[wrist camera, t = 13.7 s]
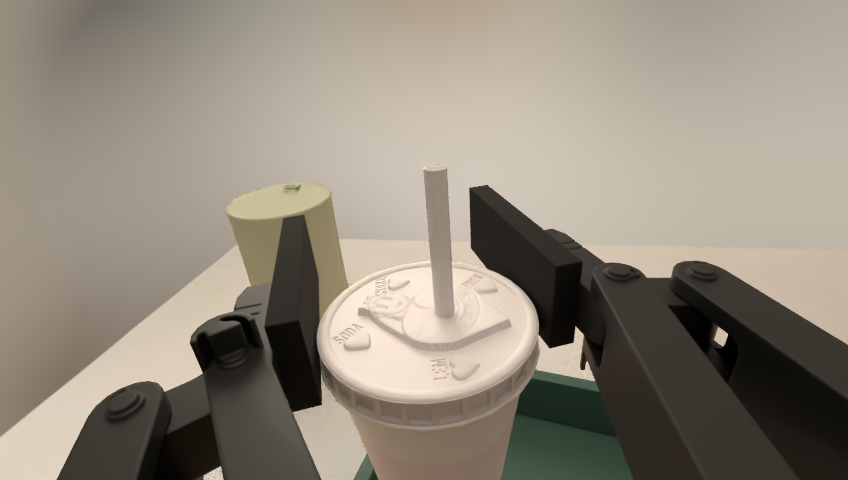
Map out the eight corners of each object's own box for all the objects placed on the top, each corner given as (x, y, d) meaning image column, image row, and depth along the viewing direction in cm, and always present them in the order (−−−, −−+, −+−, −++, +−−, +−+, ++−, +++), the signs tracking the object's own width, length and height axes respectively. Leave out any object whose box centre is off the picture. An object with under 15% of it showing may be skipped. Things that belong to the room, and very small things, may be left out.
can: (359, 278, 45) (342, 175, 40) (337, 332, 37) (311, 211, 31) (281, 279, 46) (253, 179, 41) (242, 332, 38) (200, 215, 32)
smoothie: (519, 644, 12) (547, 233, 6) (333, 578, 14) (207, 213, 8) (532, 455, 18) (554, 135, 11) (396, 426, 20) (351, 137, 13)
